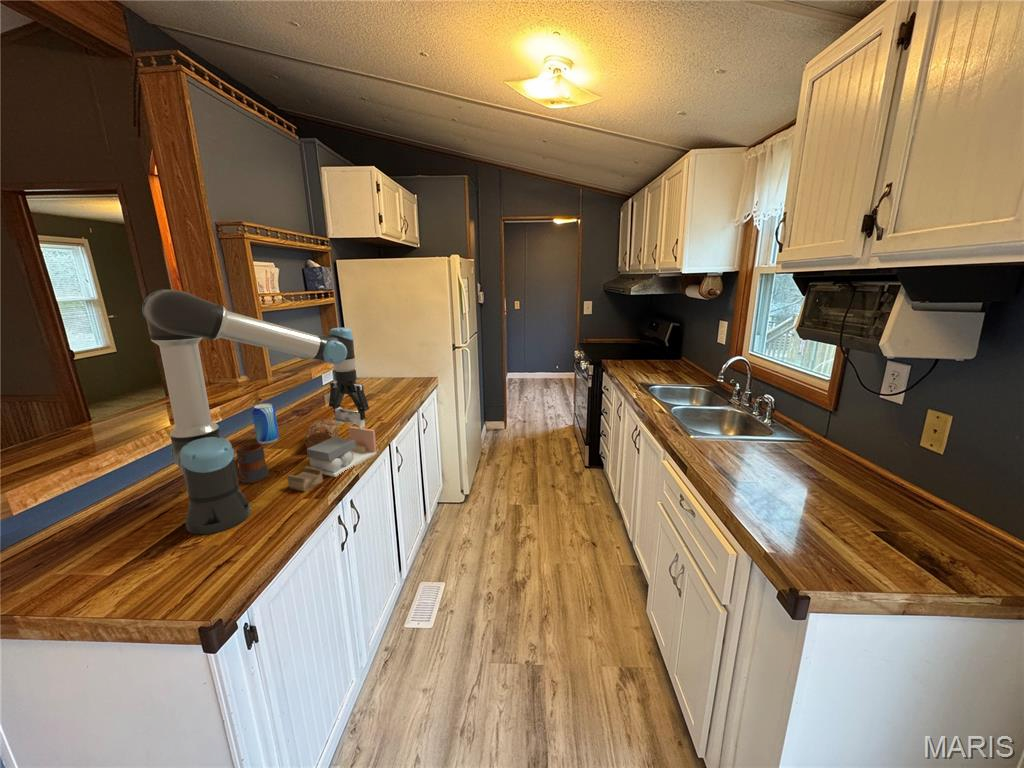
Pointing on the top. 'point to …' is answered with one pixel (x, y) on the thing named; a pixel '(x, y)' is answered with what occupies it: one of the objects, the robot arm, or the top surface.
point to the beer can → (265, 423)
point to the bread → (321, 431)
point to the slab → (331, 448)
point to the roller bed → (349, 453)
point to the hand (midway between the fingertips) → (350, 425)
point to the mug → (251, 463)
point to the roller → (346, 416)
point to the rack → (305, 479)
